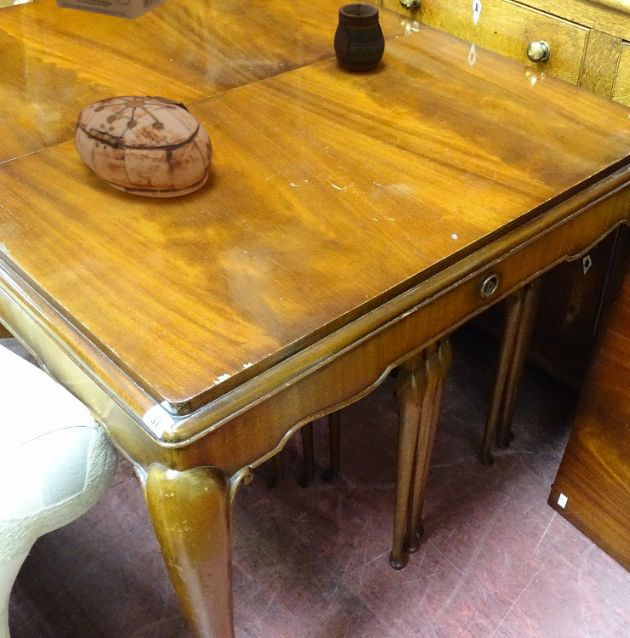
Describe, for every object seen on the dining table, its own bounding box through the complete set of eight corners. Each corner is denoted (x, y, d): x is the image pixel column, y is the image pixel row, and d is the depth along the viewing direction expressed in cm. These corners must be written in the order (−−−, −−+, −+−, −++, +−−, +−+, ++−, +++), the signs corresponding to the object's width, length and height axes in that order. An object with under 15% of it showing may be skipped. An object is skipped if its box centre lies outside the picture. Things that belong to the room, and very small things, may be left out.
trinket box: (205, 206, 81) (194, 137, 76) (59, 201, 80) (38, 131, 75) (228, 146, 91) (220, 81, 86) (99, 141, 90) (83, 76, 85)
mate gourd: (378, 54, 115) (379, -16, 109) (390, 74, 110) (391, 2, 103) (330, 57, 113) (328, -14, 107) (340, 77, 108) (338, 4, 101)
